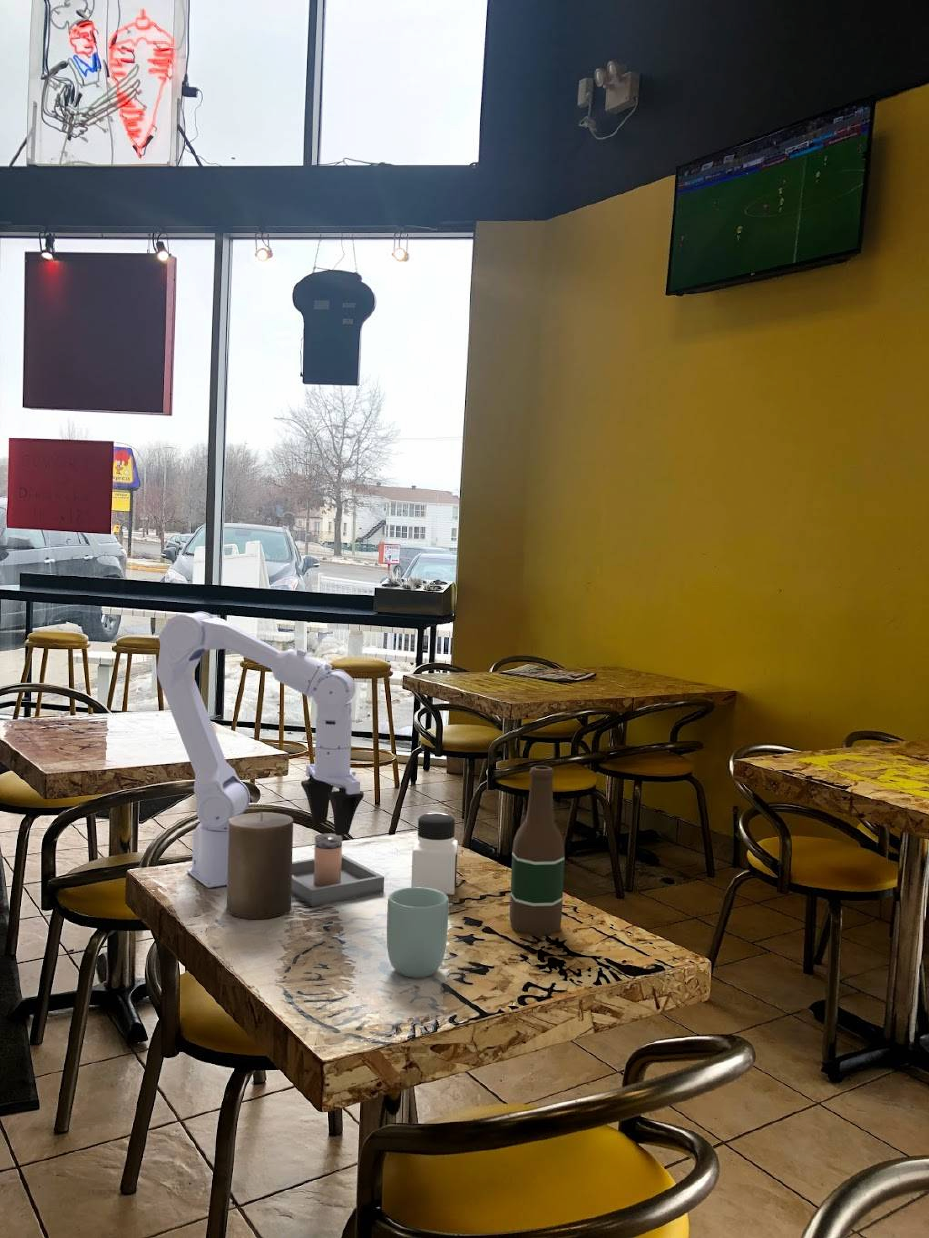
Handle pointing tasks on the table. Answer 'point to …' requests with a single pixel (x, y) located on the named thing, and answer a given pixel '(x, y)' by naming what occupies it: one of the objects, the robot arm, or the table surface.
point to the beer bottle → (538, 862)
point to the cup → (417, 930)
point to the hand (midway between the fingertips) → (330, 828)
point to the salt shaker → (327, 859)
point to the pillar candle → (259, 865)
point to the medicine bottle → (435, 853)
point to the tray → (352, 884)
